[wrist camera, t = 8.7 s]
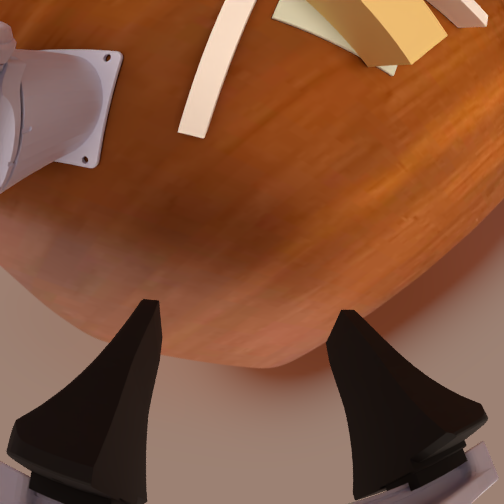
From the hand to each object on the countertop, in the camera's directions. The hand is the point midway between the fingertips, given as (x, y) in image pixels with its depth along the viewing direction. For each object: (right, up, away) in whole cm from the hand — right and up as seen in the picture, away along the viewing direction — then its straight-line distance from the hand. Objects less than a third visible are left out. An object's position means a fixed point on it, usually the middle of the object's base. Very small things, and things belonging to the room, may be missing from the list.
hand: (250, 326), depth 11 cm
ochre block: (+7, +18, +1) cm, 19 cm away
